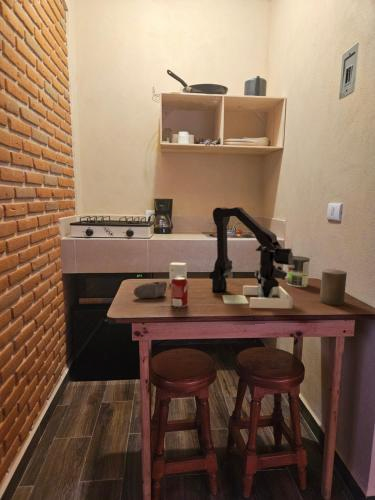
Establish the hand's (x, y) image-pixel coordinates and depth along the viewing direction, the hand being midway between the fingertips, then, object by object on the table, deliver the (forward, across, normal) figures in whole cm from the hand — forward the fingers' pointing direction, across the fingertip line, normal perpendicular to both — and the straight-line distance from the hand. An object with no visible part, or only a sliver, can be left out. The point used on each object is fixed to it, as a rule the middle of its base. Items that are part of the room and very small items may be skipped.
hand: (264, 297), depth 137 cm
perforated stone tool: (+2, +2, +50) cm, 50 cm away
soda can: (+2, -8, +37) cm, 38 cm away
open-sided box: (+2, 0, 0) cm, 2 cm away
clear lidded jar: (+2, +27, -23) cm, 36 cm away
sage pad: (+2, 0, +13) cm, 13 cm away
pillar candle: (+2, 0, -29) cm, 29 cm away
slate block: (+2, 0, 0) cm, 2 cm away
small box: (+2, +26, +39) cm, 47 cm away
